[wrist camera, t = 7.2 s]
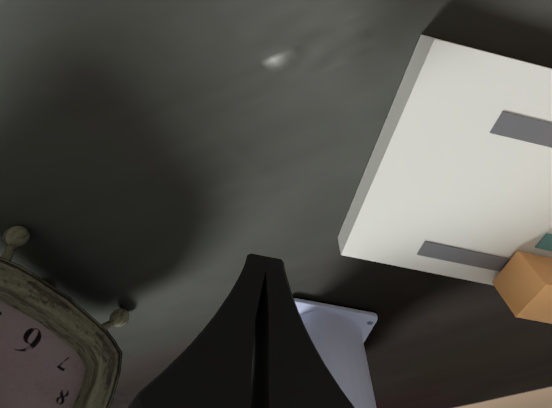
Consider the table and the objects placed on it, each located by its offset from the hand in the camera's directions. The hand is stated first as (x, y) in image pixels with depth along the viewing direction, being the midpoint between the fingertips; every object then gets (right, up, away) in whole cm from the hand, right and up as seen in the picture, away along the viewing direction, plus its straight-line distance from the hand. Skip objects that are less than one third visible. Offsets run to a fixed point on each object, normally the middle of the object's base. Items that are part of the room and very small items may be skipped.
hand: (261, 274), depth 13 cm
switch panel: (+17, +4, +9) cm, 19 cm away
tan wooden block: (+18, -2, +10) cm, 21 cm away
